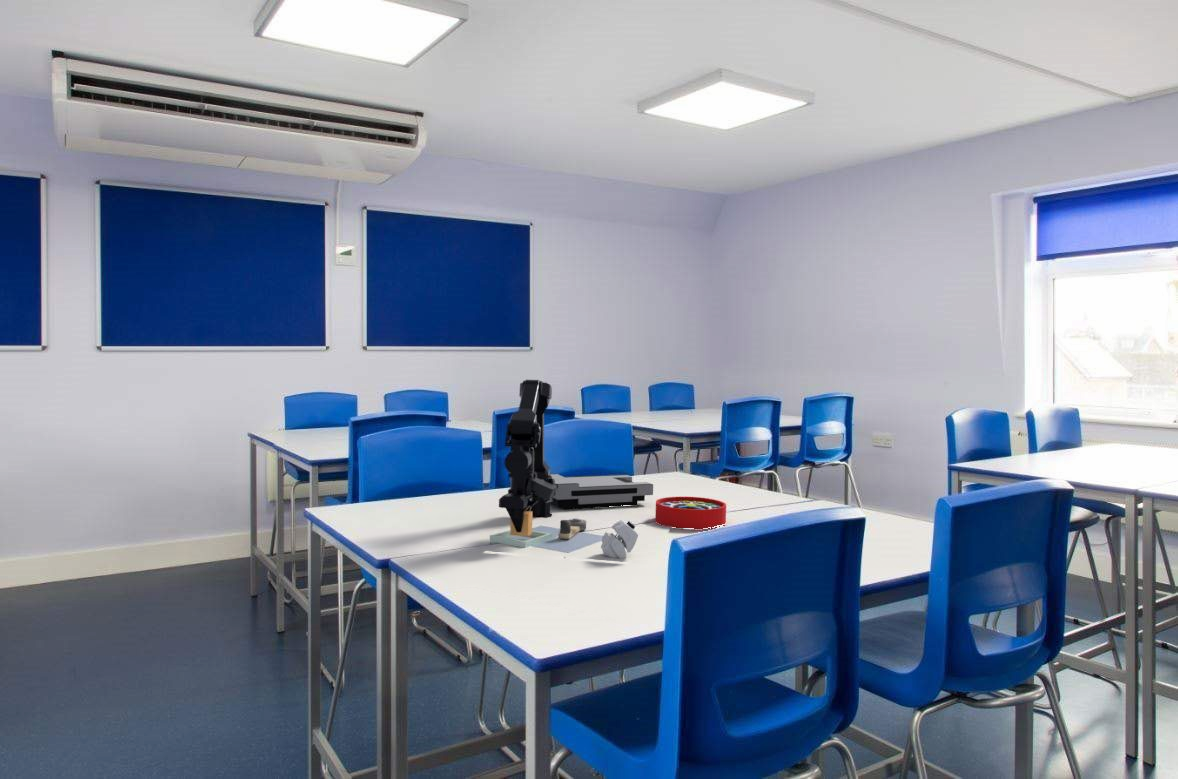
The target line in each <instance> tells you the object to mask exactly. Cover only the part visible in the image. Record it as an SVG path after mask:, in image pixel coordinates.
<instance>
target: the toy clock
mask: <svg viewBox="0 0 1178 779" xmlns="http://www.w3.org/2000/svg"><path fill="white" fill-rule="evenodd" d="M726 520H727V503H725V502H724V501H721V500H718V499H714V498H708V497H699V496H698V497H697V496H668V497H667V496H666V497H661V498H658V499H656V501H655V517H654V521H656V522H657V523H659V524H661V525H660V526H662V525H665V526H664V527H670V528H671V527H676V528H694V529H703V528H708V527H711V529H712V530H714V529H713V528H712V527H714V526H717V525H722V524H725V523H726V524H727V521H726ZM656 522H655V523H656ZM657 523H656V524H657ZM659 524H658V525H659ZM723 526H724V527H725V526H726V525H723ZM719 527H720V526H719ZM715 528H717V527H715ZM708 529H710V528H708Z"/></svg>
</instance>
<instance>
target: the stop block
mask: <svg viewBox="0 0 1178 779" xmlns="http://www.w3.org/2000/svg"><path fill="white" fill-rule="evenodd" d="M532 515H533V511H525V513H524V519H523V525H522V530H521V532H517V531H516V529H515V527H514V525H513V522H512V520H511V519H510V526H509V527H510V529H509V530H510V535H518V536H529V535H530V534H532V528H533V517H532Z"/></svg>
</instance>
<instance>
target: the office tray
mask: <svg viewBox="0 0 1178 779" xmlns="http://www.w3.org/2000/svg"><path fill="white" fill-rule="evenodd" d="M550 476H552V478H553V479H555V485H557V486H556V487H557V488H556V489H557V490H556V491H555V493H554V496H553V498H552V499H550V500H549V501H550V503H552V504H554V505H556V507H557V508H560V509H561V510H563V511H568V510H569V511H571V510H570V509H572V510H584V509H583V508H590V509H596V508H595V507H608V508H610V507H609V506H621V505H622V506H623V505H637V506H638V502H645V501H646V500H645V496H653V495H654V484H653V483H651V482H647V481H638V482H637V481H633V476H631V475H630V474H605V475H604V474H602V475H581V476H580V475H577V476H576V475H575V476H562V475H560V474H558V473H550Z"/></svg>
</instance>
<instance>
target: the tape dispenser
mask: <svg viewBox="0 0 1178 779" xmlns="http://www.w3.org/2000/svg"><path fill="white" fill-rule="evenodd" d="M611 528H612V529H613V530H614V531H615V533H616V534H614V533H613V532H611V533H609V532H607V531H605V532H604V534H603V535H602V536H603V537H602V541H601V545H600V549H601V550H602V553H603V556H604V557H610V558H619V559H627V553H631V552H632V550H633V549H634V547H635V545H636V543H637V540H638V537H639V534H638V532H637V531H635V528H636V525H635V524H634V523H632V522H631V521H630V520H628V521H627V522H625V521H623V520H622V519H621V520H619V521H616V522H614V523H613V525H612V526H611Z"/></svg>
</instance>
